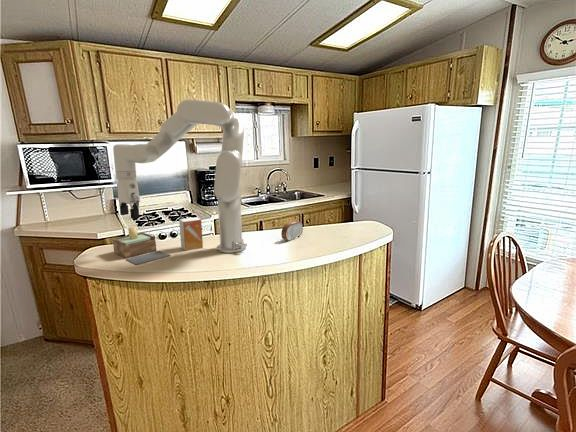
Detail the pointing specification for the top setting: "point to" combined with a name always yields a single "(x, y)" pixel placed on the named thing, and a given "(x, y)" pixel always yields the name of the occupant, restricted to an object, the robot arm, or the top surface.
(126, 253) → the box
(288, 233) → the bread slice
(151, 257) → the mat
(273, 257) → the top surface
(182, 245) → the small box
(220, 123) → the robot arm
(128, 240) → the lid
